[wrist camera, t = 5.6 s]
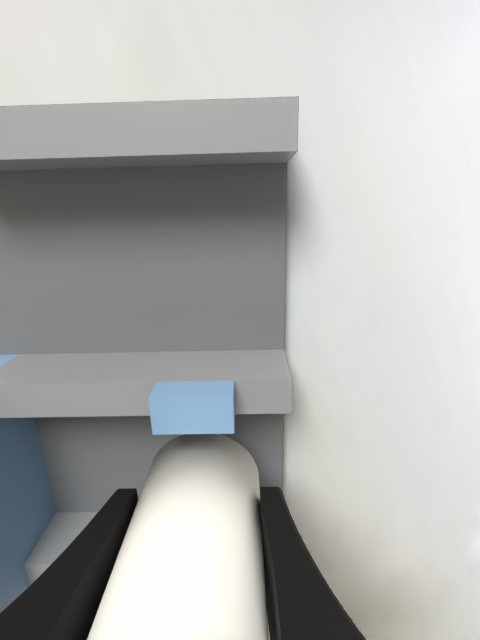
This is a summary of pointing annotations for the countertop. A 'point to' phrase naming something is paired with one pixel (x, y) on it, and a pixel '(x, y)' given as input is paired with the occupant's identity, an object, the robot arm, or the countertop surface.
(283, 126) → the grey and blue rack
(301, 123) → the countertop surface
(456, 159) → the countertop surface
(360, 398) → the countertop surface
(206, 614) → the white rounded cylinder
